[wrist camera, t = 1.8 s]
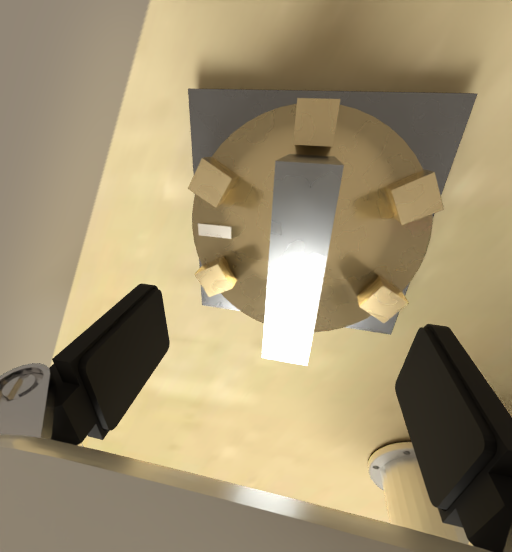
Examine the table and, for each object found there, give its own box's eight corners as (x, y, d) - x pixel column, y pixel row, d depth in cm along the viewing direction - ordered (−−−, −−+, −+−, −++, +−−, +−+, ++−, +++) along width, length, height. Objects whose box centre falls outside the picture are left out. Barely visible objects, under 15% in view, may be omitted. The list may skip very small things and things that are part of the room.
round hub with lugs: (455, 110, 18) (593, 82, 9) (383, 326, 26) (417, 420, 17) (200, 104, 20) (113, 77, 12) (209, 299, 29) (163, 369, 20)
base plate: (462, 97, 19) (477, 93, 17) (386, 322, 28) (391, 334, 26) (198, 92, 22) (188, 88, 20) (208, 295, 31) (202, 305, 30)
